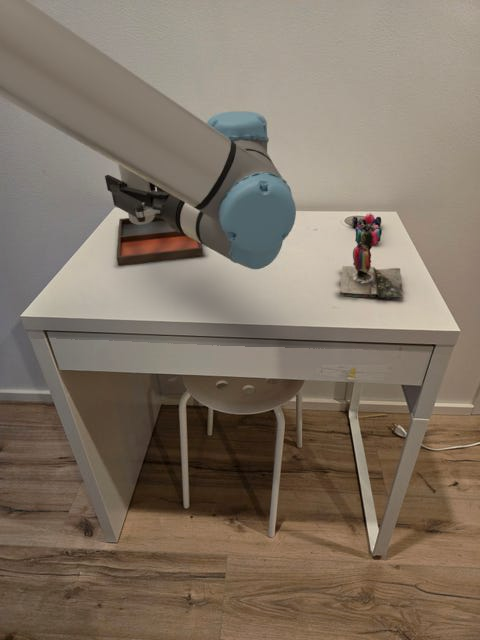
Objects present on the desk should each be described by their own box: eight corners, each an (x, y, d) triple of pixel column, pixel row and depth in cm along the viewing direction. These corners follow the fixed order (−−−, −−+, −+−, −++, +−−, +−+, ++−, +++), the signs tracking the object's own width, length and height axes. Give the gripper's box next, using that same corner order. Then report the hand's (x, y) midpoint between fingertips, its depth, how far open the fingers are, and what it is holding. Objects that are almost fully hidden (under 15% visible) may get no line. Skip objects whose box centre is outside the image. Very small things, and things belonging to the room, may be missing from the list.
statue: (340, 301, 82) (339, 227, 73) (342, 274, 89) (342, 204, 80) (402, 301, 79) (409, 225, 70) (399, 274, 86) (405, 201, 77)
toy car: (350, 223, 106) (352, 208, 103) (377, 223, 105) (380, 208, 103) (359, 246, 96) (361, 230, 94) (388, 246, 96) (391, 230, 94)
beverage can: (158, 215, 84) (149, 151, 77) (149, 226, 80) (139, 159, 73) (134, 214, 85) (123, 150, 77) (125, 224, 81) (112, 159, 74)
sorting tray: (118, 265, 92) (116, 257, 91) (120, 225, 108) (119, 218, 106) (203, 256, 94) (202, 248, 93) (193, 218, 110) (192, 211, 109)
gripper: (152, 255, 65) (81, 211, 79) (240, 219, 75) (163, 186, 89) (144, 207, 61) (71, 170, 75) (239, 176, 70) (158, 148, 84)
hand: (121, 178), depth 82 cm, fingers closed on beverage can, 5 cm apart
